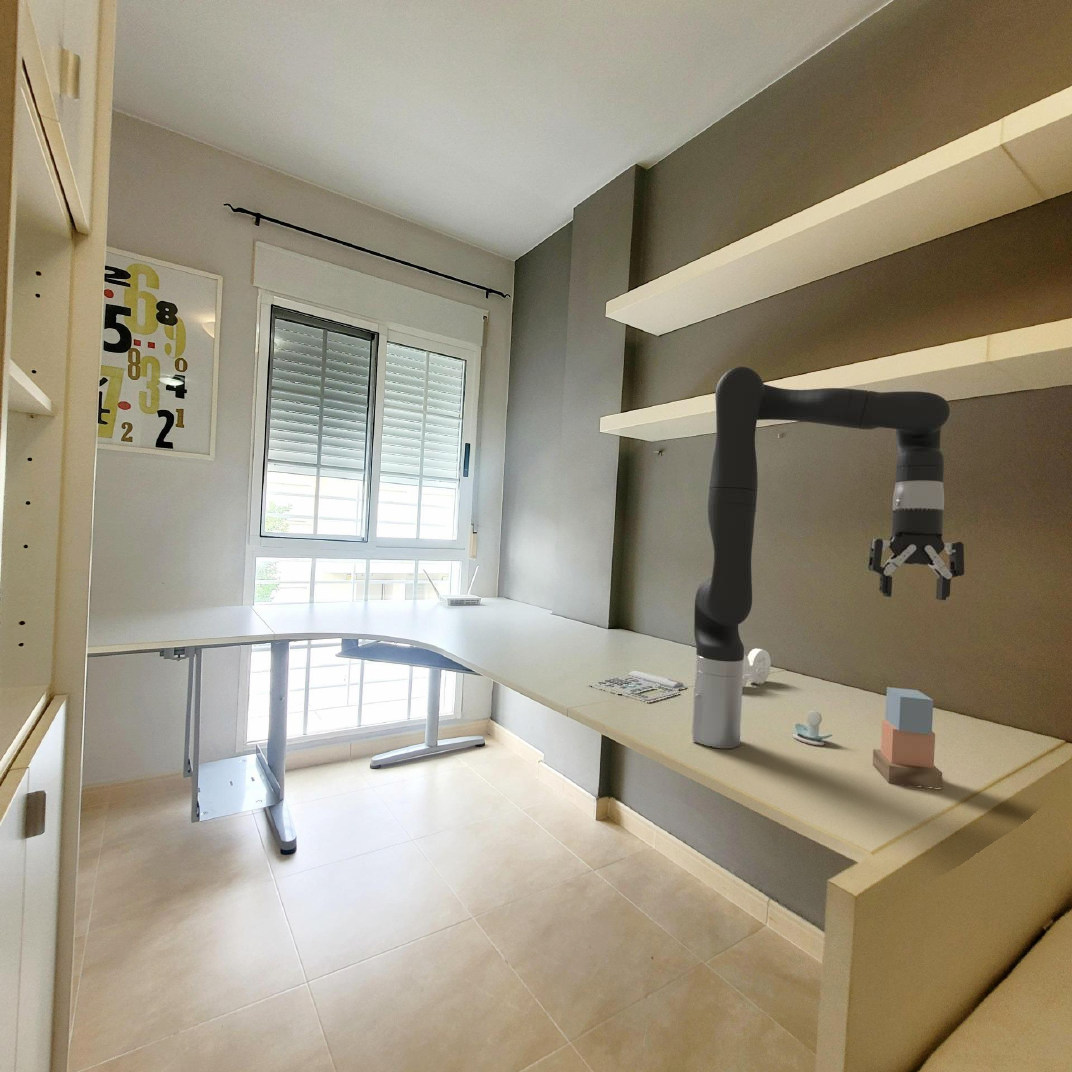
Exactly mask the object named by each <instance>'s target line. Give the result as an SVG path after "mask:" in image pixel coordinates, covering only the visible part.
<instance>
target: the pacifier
mask: <svg viewBox="0 0 1072 1072" xmlns="http://www.w3.org/2000/svg"><path fill="white" fill-rule="evenodd" d="M822 719H823V718H822V714H821V713H820V712H819V711H818V710H815V709H812V710H809V712H808V713H807V714H806V721H807V723H808V726H806V725H804V724H803V723H802V724H801V723H796V724H795V726H794V728H795V731H796V732H795V733H793V734H792V737H793V738H794V739H796V740H797V741H800V742H802V743H804V744H805V743H806V744H809V745H813V746H823V745H825V742H824V741H823V739H828V738H830V737H833V734H819V733H820V731H819V730H820V725H821V723H822Z"/></svg>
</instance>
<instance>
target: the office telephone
mask: <svg viewBox="0 0 1072 1072" xmlns="http://www.w3.org/2000/svg"><path fill="white" fill-rule="evenodd" d="M627 675H628V676H632V677H635V678H639V679H643V680H638V679H633V678H631V677H630V678H625V680H622V679H619V678H613V677H610V678H611V679H608V678H606V679H607V680H605V682H598V683H599V684H600V685H595V686H599V687H605V688H606V687H609V686H610V687H611V688H612V687H614V686H615V687H614V688H618V687H619V688H622V689H624V690H612V691H616V692H623V693H626V694H628V695H632V696H635V697H639V698H642V699H644V700H645V701H651V700H656V699H658V698H662V697H666V696H671V695H675V694H677V693H680V694H681V690H680V691H676V690H672V689H681V688H685V687H687V688H688V686H687V685H685V684H684V683H683V682H681V681H677V680H674V679H670V678H665V677H663V676H662V677H661V676H658V675H654V674H650V673H646V672H642V671H638V670H632V671H630V672H629V673H628V674H627ZM628 679H631V680H628ZM632 679H633V680H632ZM600 680H601V679H599V680H596V681H600ZM594 681H595V680H592V682H594ZM607 682H609V683H613V684H609V685H608V684H607V685H601V684H606V683H607ZM651 682H652V683H654V684H656V683H658V684H660V686H657V685H649V684H652V683H651ZM629 683H630V684H629ZM648 683H649V684H648ZM614 684H617V685H614ZM623 684H627V685H623ZM643 684H646V685H643ZM647 684H648V685H647ZM661 686H664V687H668V688H672V689H668V688H664V687H661ZM653 687H655V688H658V689H662V690H664V691H668V692H669V693H662V694H659V695H655V696H647V695H644V694H642V693H639V694H638V693H634V692H637V691H642V690H644V689H649V688H653Z"/></svg>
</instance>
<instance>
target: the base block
mask: <svg viewBox="0 0 1072 1072" xmlns="http://www.w3.org/2000/svg"><path fill="white" fill-rule="evenodd" d="M872 766H873V767H874V768H875V770H876V771H877V772H879V773H878V774H880V775H881V776H882V777H883V778H884V779H885V781H886V782H887V783H888V784H894V785H901V784H904V785H903V786H908V785H910V786H909V787H915V786H921V787H920V788H922V787H932V788H942V789H943V772H942V771H941V770H940V769H939V768H938V767H936V765H934V768H928V767H920V766H912V765H904V764H896V763H891V762H890V761H889V760H888V759H887V758H886V757H885V756H884V755H883V754H882V753H881V749H877V748H873V750H872Z"/></svg>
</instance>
